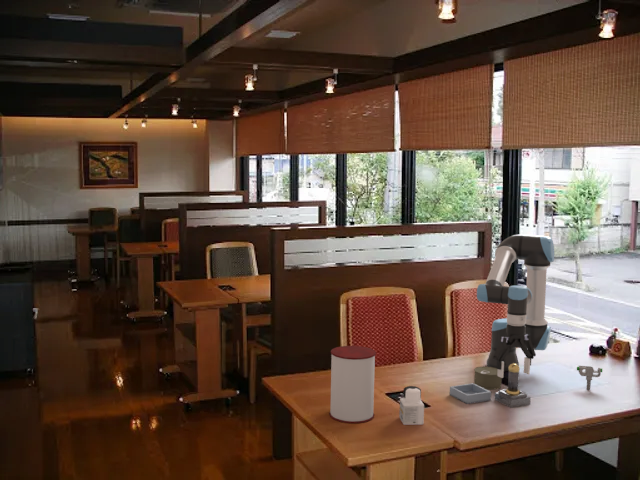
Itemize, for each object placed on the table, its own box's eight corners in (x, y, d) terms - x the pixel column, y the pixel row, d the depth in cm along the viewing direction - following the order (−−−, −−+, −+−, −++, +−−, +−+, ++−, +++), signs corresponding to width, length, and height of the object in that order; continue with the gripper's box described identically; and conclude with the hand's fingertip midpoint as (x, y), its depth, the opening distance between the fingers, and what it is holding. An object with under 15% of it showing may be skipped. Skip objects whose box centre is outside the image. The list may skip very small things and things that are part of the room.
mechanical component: (601, 391, 296) (602, 369, 295) (576, 389, 298) (577, 367, 297) (600, 389, 299) (601, 367, 298) (575, 387, 301) (576, 365, 300)
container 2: (399, 417, 261) (400, 384, 260) (419, 417, 262) (420, 384, 261) (403, 425, 254) (404, 391, 252) (423, 424, 254) (424, 390, 253)
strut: (503, 393, 282) (504, 362, 280) (513, 392, 284) (514, 361, 282) (511, 397, 277) (513, 366, 275) (521, 396, 279) (523, 364, 278)
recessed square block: (494, 399, 283) (495, 389, 283) (513, 396, 287) (514, 386, 287) (510, 407, 274) (511, 397, 274) (530, 404, 278) (530, 394, 278)
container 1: (381, 421, 257) (382, 356, 254) (337, 425, 252) (338, 359, 250) (365, 405, 274) (366, 344, 271) (323, 409, 269) (324, 347, 266)
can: (506, 385, 302) (507, 370, 301) (493, 392, 293) (493, 376, 292) (482, 379, 310) (482, 364, 309) (468, 385, 301) (469, 370, 300)
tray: (449, 394, 288) (449, 386, 288) (472, 391, 293) (473, 383, 293) (467, 404, 277) (467, 395, 277) (490, 400, 282) (491, 391, 282)
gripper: (497, 328, 268) (495, 381, 271) (546, 323, 279) (543, 374, 281) (485, 324, 275) (483, 375, 277) (533, 320, 286) (530, 369, 288)
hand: (513, 375), depth 279 cm, fingers open, 13 cm apart
